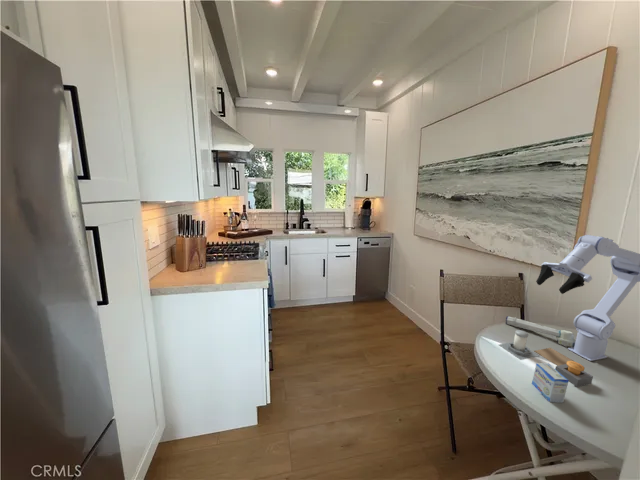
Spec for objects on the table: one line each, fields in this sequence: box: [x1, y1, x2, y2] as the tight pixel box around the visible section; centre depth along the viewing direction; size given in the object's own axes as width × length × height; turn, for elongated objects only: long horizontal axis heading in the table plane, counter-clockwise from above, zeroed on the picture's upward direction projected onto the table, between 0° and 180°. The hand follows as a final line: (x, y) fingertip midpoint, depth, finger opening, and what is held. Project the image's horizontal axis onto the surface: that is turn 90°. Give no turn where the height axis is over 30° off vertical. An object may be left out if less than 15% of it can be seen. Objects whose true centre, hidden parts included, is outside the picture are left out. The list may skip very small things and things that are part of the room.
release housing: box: [554, 364, 594, 388], centre depth 94 cm, size 7×7×3 cm
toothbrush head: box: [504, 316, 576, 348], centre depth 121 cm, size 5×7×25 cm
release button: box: [566, 360, 585, 376], centre depth 94 cm, size 5×5×4 cm
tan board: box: [533, 347, 576, 366], centre depth 105 cm, size 9×10×1 cm
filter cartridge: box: [513, 329, 529, 352], centre depth 109 cm, size 4×4×8 cm
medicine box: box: [531, 362, 570, 404], centre depth 87 cm, size 8×4×9 cm, turn 178°
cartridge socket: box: [498, 341, 541, 361], centre depth 110 cm, size 10×10×2 cm
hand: (548, 287), depth 94 cm, fingers open, 7 cm apart
